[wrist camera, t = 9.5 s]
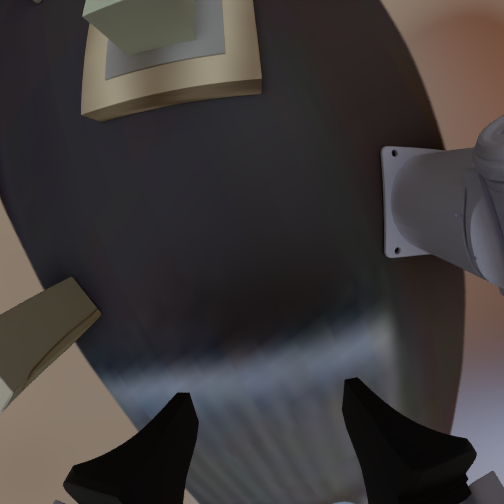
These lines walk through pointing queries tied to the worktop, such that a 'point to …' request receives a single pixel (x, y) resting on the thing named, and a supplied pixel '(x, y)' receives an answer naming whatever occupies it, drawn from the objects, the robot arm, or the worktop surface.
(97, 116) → the base block
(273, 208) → the worktop surface
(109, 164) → the worktop surface
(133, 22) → the green block
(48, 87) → the worktop surface
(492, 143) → the robot arm
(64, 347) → the skincare box
